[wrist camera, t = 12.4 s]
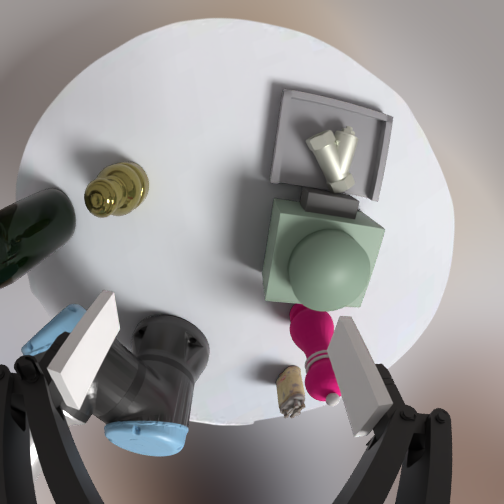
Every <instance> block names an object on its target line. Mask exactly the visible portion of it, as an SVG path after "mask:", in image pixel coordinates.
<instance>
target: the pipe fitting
mask: <svg viewBox="0 0 504 504" xmlns="http://www.w3.org/2000/svg"><path fill="white" fill-rule="evenodd" d="M352 130H353V128H352V127H350V126H346V128H342V129H341V131H336V132H335V135H334V134H333V132H332V131H331V130H326V131H323V132H320V133H318V134H316V135H314V136H312V137H310V138H308V139H307V140H306V143H307V145H308V147H309V149H310V150H311V151H313V153H314V155H315V157H316V159H317V161H318V163H319V165H320V168H321V170H322V172H323V174H324V176H325V178H326V180H327V182H326V184H327V187H328V189H329V191H330V192H331V193H334V194H336V193H341V192H344V191H346V190H348V189H350V188H351V187H352V186H353V185H354V183H355V181H354V179H353V176H352V174H351V173H349V169H350V166H351V163H352V160H353V156H354V153H355V150H356V146H357V143H358V140H359V139H358V138H357V137H356V136H355V132H354V131H352Z"/></svg>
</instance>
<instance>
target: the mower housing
mask: <svg viewBox="0 0 504 504" xmlns="http://www.w3.org/2000/svg"><path fill="white" fill-rule="evenodd" d="M358 205H359V201H358V200H356V199H355V198H353V197H352V196H350V195H347V194H342V193H336V194H334V193H331V192H330V191H325V190H320V189H314V188H308V187H303V188H302V194H301V199H300V202H297V201H290V200H283V199H276V198H274V202H273V208H272V214H271V221H270V227H269V233H268V240H267V246H266V252H265V258H264V264H263V270H262V277H263V286H264V295H265V301H273V302H285V303H297V304H303V305H304V306H306V307H307V308H310V309H312V310H316V311H334V310H338V309H341V308H343V307H360V306H361V303H362V301H363V298H364V295H365V292H366V290H367V287H368V284H369V281H370V278H371V275H372V272H373V269H374V266H375V262H376V259H377V256H378V253H379V249H380V246H381V243H382V239H383V236H384V232H385V229H384V228H383V227H382V226H380V225H379V224H378V223H376V222H375V221H374V220H372V219H371V218H370V217H368V216H367V215H365V214H364V213H363V212H358V211H357V210H358Z"/></svg>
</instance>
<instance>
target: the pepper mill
mask: <svg viewBox="0 0 504 504" xmlns="http://www.w3.org/2000/svg"><path fill="white" fill-rule="evenodd" d="M290 321H291V324H290V334H291V337H292V340H293V341H294V343H295V344H296V345H297V346H298V347H299V348H300V349H301V350H302V351H303V352H304V353H305V354H306V357H307V360H306V362H305V369H306V373H307V375H306V377H305V387H306V390H307V392H308V393H309V395H310V396H311V397H313V398H314V399H316V400H319V401H326V403H327V404H328V405H329V406H335V405H337V404H338V403H339V400H340V398H339V397H340V396H341V392H340V389H339V386H338V383H337V380H336V377H335V374H334V371H333V368H332V365H331V361H330V358H329V355H328V352H327V349H328V346H329V344H330V341H331V338H332V336H333V333H334V325H333V321H332V318H331V316H330V315H329V314H328V313H327V312H326V311H316V310H312V309H310V308H307V307H306V306H304V305H303V304H297V303H296V304H295V305H294V306H293V307H292V309H291V311H290Z"/></svg>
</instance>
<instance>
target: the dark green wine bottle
mask: <svg viewBox="0 0 504 504" xmlns="http://www.w3.org/2000/svg"><path fill="white" fill-rule="evenodd" d="M75 226H76V217H75V211H74V208H73V206H72V203H71V201H70V200H69V198H68V197H67V196H66V195H65V194H64V193H63V192H61V191H60V190H58V189H54V188H48V189H45V190H42V191H40V192H37V193H35V194H33V195H30V196H28V197H26V198H24V199H22V200H19V201H17V202H15V203H13V204H12V205H9V206H7V207H5V208H3V209H1V210H0V289H1V288H3V287H5V286H7V285H10V284H12V283H13V282H15V281H16V280H18V279H19V278H20V277H22V276H23V275H25V274H26V273H27V272H29V271H30V270H31V269H33V268H34V267H35V266H36V265H38V264H39V263H40V262H42V261H43V260H44V259H46V258H47V257H48V256H50V255H51V254H53V253H54V252H55V251H57V250H58V249H59V248H61V247H62V246H63V245H65V244H66V243H67V242H68V241H69V240H70V239H71V237H72V236H73V233H74V231H75Z"/></svg>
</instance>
